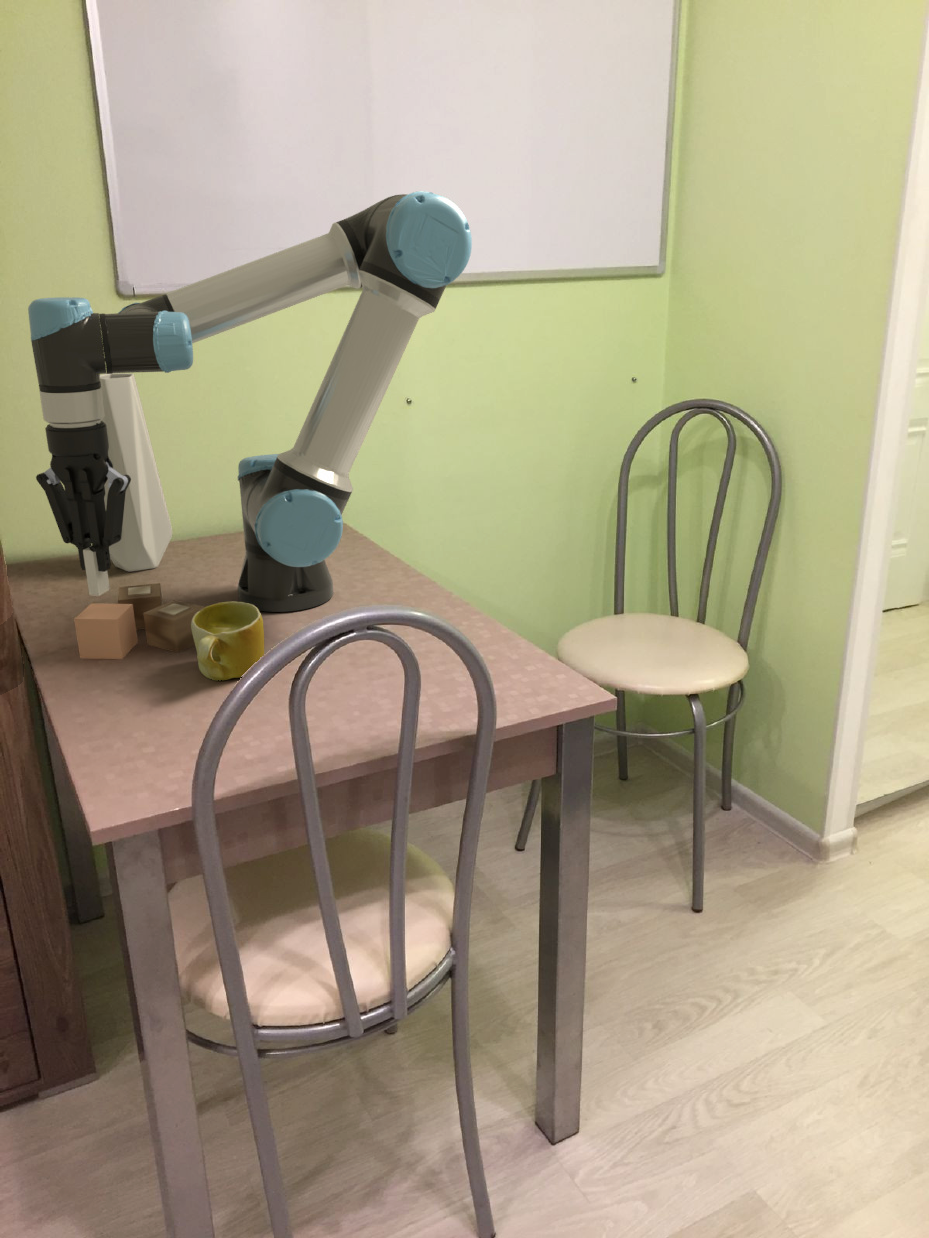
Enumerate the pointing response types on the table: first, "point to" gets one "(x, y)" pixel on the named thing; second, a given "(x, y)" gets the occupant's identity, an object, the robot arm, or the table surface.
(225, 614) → the mug
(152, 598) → the walnut block
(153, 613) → the walnut block
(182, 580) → the table surface
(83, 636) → the plain block
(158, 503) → the vase
